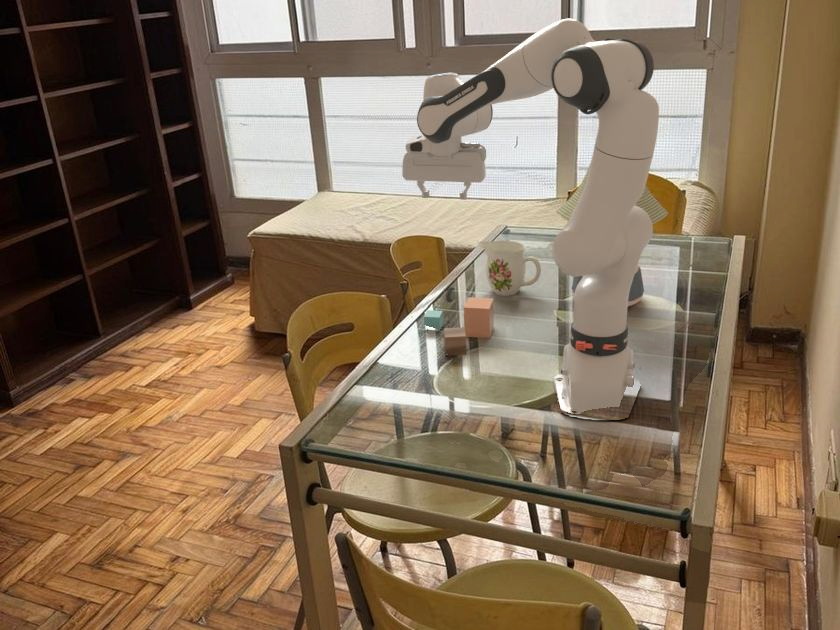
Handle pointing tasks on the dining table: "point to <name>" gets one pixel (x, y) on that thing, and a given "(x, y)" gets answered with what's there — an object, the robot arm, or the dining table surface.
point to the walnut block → (455, 341)
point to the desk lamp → (644, 202)
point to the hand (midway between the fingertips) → (444, 198)
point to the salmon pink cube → (479, 317)
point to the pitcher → (507, 266)
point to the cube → (434, 319)
